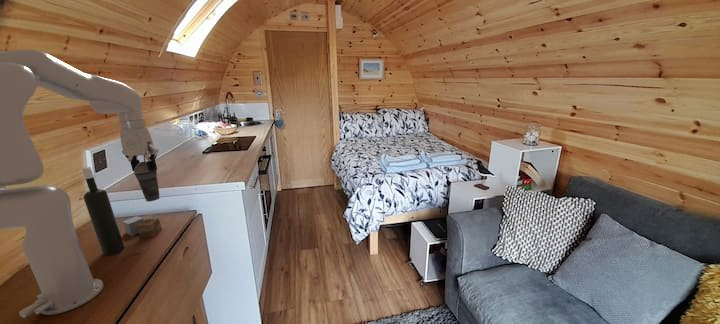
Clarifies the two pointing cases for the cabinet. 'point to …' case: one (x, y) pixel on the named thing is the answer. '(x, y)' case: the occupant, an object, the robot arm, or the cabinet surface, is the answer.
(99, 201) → the wine bottle
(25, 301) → the cabinet surface
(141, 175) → the beverage cup
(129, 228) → the light grey cube
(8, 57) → the robot arm
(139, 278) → the cabinet surface
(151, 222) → the walnut block
